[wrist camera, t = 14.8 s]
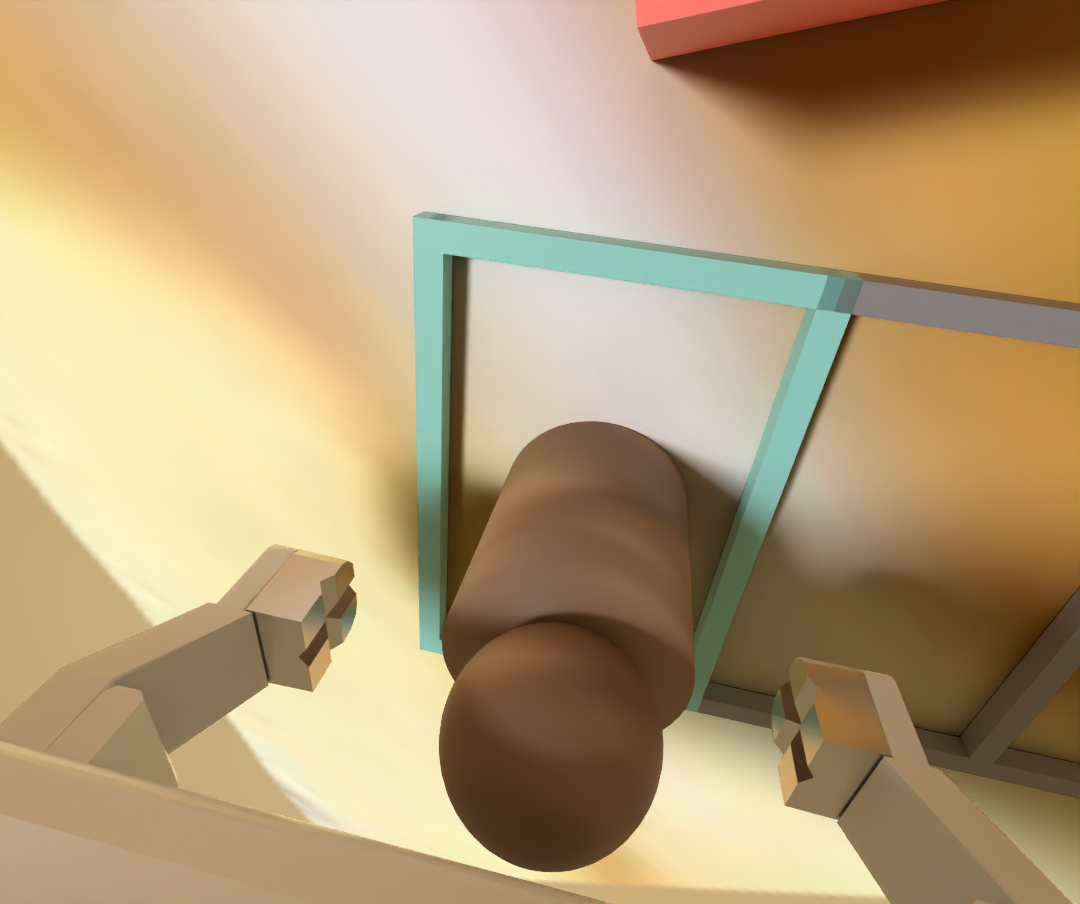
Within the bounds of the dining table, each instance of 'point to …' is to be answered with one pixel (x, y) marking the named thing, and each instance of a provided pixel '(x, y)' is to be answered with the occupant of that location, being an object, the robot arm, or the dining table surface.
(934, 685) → the dining table surface
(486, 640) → the pawn
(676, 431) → the dining table surface
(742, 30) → the red die
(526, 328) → the dining table surface
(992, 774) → the frame
